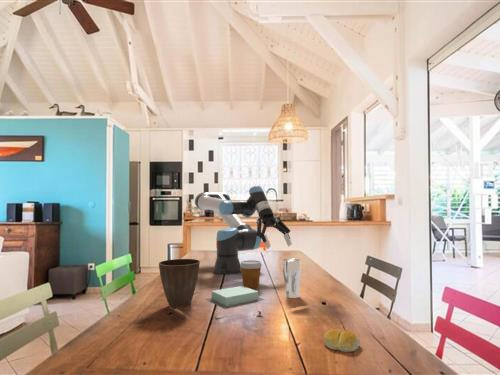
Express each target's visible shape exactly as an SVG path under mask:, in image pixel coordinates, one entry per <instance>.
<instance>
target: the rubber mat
mask: <svg viewBox="0 0 500 375" xmlns="http://www.w3.org/2000/svg"><path fill="white" fill-rule="evenodd" d="M205 300H206V301H207V302H210V303H212V304H214V305H216V306H218V307H220V308H222V309H226V308H231V307H236V306H241V305H246V304H247V305H248V304H252V303H256V302H260V301H265V300H266V299H264V298H261V297H259V296H258V300H254V301H249V302H244V303H239V304H234V305H229V306H225V305H223V304H221V303H219V302H217V301H215V300H213V299H212V297H210V298H205Z"/></svg>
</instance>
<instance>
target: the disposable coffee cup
mask: <svg viewBox="0 0 500 375" xmlns="http://www.w3.org/2000/svg"><path fill="white" fill-rule="evenodd" d="M262 265H263V264H262V263H261V261H260V260H253V259H252V260H242V261H241V262H240V267H241V272H240V273H241V278H242V279H241V280H242V286H244V287H247V288H250V289H253V290H257V289H259V287H260V279H261V268H262Z"/></svg>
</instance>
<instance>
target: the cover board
mask: <svg viewBox="0 0 500 375" xmlns="http://www.w3.org/2000/svg"><path fill="white" fill-rule="evenodd" d="M258 297H259V291H258V290H256V289H254V290H253V289H250V288H247V287H244V286H243V285H240V286H234V287H228V288H227V287H226V288H222V289H216V290H211V298H212V299H213V300H215V301H217V302H219V303H221V304H223V305H225V306H229V305H234V304H239V303H244V302H249V301H254V300H258Z"/></svg>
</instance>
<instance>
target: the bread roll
mask: <svg viewBox="0 0 500 375" xmlns="http://www.w3.org/2000/svg"><path fill="white" fill-rule="evenodd" d="M323 341H324V345H325V346H326V348H329V349H330V350H333V351H340V352H343V353H350V352H351V353H352V352H356V350H357V349H359V347H360V343H361V342H360V338H359V337H358V335H357V334H355V333H354V332H352V331H351V330H344V331H342V330H341V329H338V328H334V329H332V328H331V329H329V330H328V331H326V333H325V334H324V335H323Z"/></svg>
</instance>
